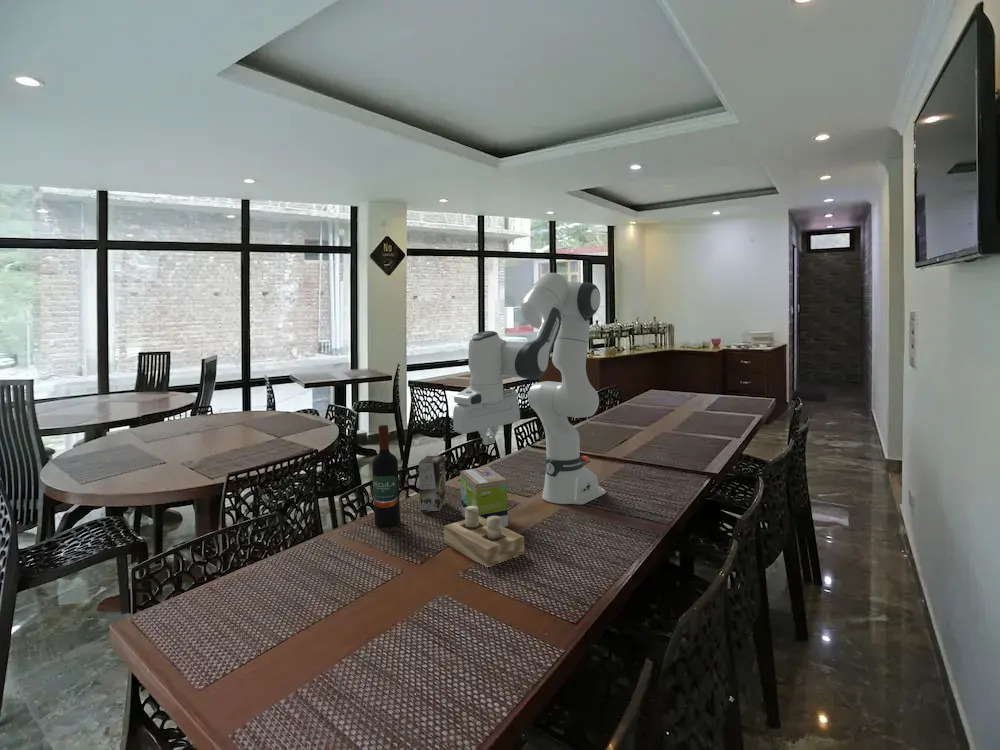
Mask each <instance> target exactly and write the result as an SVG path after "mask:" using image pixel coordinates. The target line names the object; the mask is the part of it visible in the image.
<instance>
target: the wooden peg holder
mask: <svg viewBox="0 0 1000 750" xmlns="http://www.w3.org/2000/svg"><path fill="white" fill-rule="evenodd" d="M443 541H444V544H445V545H446V544H447V545H446V546H448V547H450V548H452V549H453V550H455V551H457V552H459V553H460V554H462V555H463V556H466V557H467V558H469V559H470V560H473V562H476V563H477V562H478V563H477V564H479V563H480V564H479V565H481V564H482V565H481V566H483V565H484V566H485V567H484V566H483V567H484V568H486V567H487V568H486V569H489V568H488V567H490V568H492V567H491V566H493V567H495V566H497V565H496V564H498V565H500V564H499V563H501V562H504V561H506V562H508V561H507V560H509V559H512V558H515V557H517V556H519V555H523V554H524V555H525V536H523V535H521V534H520V533H517V532H515V531H513V530H511V529H510V528H507V527H503V526H501V540H498V541H495V542H491V541H489V540H488V537H487V519H486V518H483V517H481V516H478V507H477V506H468V507H466V508H465V517H464V519H463V520H460V521H456V522H452V523H448V524H446V525H443ZM524 555H523V556H524ZM517 558H518V557H517ZM515 559H516V558H515ZM512 560H513V559H512ZM509 561H510V560H509ZM504 563H505V562H504ZM501 564H502V563H501ZM494 565H495V566H494Z"/></svg>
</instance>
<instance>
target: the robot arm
mask: <svg viewBox="0 0 1000 750" xmlns="http://www.w3.org/2000/svg"><path fill="white" fill-rule="evenodd" d="M600 304H601V292H600V290H599V288H598V286H597V285H596V284H594V283H592V282H587V281H584V282H579V281H567V279H566V278H565V277H564V276H563V275H562V274H560V273H557V272H548V273H545V274H544V275H543V276H542V277H540V278H539V279H537V281H536V282H535V283H534V284H533V285H532V287H531V288H530V289H529V290H528V291H527V293H526V294H525V295H524V298H523V299H522V301H521V304H520V305H521V306H520V311H521V314H522V318H523V319H524V320H525V321H526V322H527V324H528V325H530V326H531V327H532V328H534V329H537V330H538V331H537V334H536V336H535V338H534V339H532V340H530V341H507V340H505V339H502V338H501V337H500V336H499V333H498V332H496V331H493V330H485V331H480V332H476V333H474V334H473V335H472V336H471V337H470V338H469V343H468V355H467V356H468V369H469V370H470V371H469V372H470V377H469V378H470V379H469V386H467V387H466V388H465V389H463V390H462V391H460V392H458V393H456V394H455V395H454V396H453V401H454V403H456V405H454V407H453V412H452V413H453V414H452V415H453V416H452V420H453V421H452V424H453V425H452V426H453V430H454V431H455V432H456V433H458V434H461V435H465V434H469V433H474V432H478V433H479V435H480V437H481V439H482V444H483V445H485V446H487V445H492V444H495V443H496V436H497V433H498V431H499V427H500V426H504V425H509V424H512V423H517V422H520V419H521V410H520V405H519V400H518V392H517V391H516V390H515V389H514V388H508V389H504V379H503V377H508V378H521V379H526V380H531V381H533V380H534V381H535V380H538V379H540V378H541V377H542V376H543V375H544V374H545V373H546V371H547V370H548V367H549V363H550V356H552V357H551V362H552V364H553V366H554V368H556V369H557V370H559V371H560V374H561V382H558V381H550V380H547V381H539V382H536V383H535V382H534V384H532V385H531V387H530V388H529V390H528V394H527V401H528V404H529V406H530V408H531V409H532V410H533V411H534V412H535V413H536V415H537V417H538V418H539V419H540V422H541V424H542V427H543V431H544V435H545V452H546V453H545V454H546V455H545V456H544V467H545V477H544V483H543V489H542V495H541V498H542V499H543V500H544V501H546V502H549V503H552V504H559V505H570V504H571V505H584V504H588V503H589V502H591V501H593V500H595V499H597V498H599V497H602V496H603V495H605V494H606V489H604V488H603V487H601V486H599V480H598V476H597V475H596V474H595V473H594V472H592V471H591V470H589V469H588V468H587V467H586V466H585V465H584V463H589V461H590V456H587V455H582V456H581V455H580V453H581V452H580V449H581V448H580V447H581V444H580V440H581V439H580V438H581V437H580V434H579V431H578V430H577V429H576V428H575V427H574V426H573V425H572V424H571V423H570V421H569V420H568V418H569V417H570V418H576V419H577V418H578V419H580V418H590V417H592V416H593V415H595V413H596V412H597V411H598V408H599V406H600V397H599V394H598V392H597V390H596V389H595V388H594V387H593V386H592V384H591V383H590V381H589V378H588V375H587V368H586V366H587V357H588V356H587V355H588V346H589V339H590V319H591V318H592V317H593V316H594V315H595V314H596V312H598V310H599V307H600ZM552 351H553V352H552ZM551 354H552V355H551ZM488 429H489V430H490V432H489V435H487V433H488Z"/></svg>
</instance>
